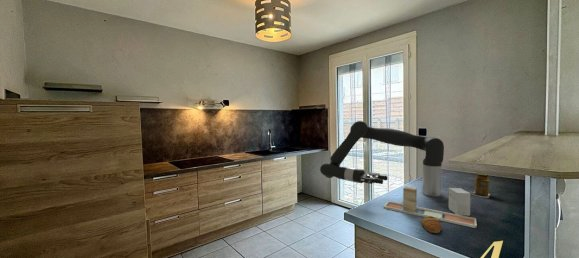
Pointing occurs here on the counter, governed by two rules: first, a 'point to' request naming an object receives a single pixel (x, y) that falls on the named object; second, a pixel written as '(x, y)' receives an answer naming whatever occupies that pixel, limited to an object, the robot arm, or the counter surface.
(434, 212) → the pad
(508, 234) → the counter surface
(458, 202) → the small box
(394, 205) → the pads
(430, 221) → the pastry
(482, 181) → the condiment
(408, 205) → the beech block
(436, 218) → the rail channel
